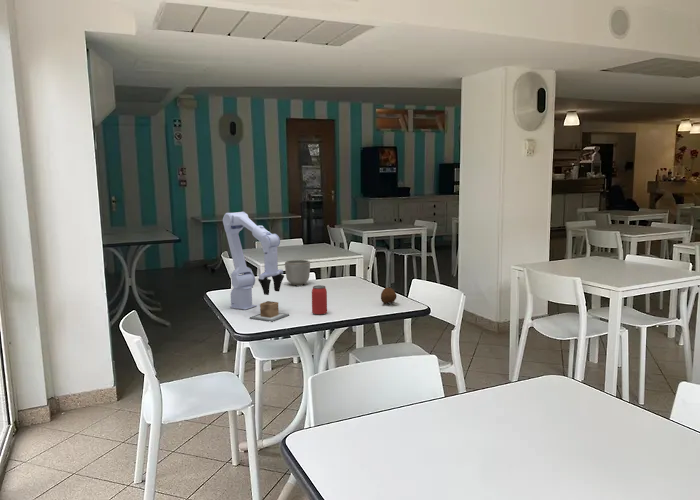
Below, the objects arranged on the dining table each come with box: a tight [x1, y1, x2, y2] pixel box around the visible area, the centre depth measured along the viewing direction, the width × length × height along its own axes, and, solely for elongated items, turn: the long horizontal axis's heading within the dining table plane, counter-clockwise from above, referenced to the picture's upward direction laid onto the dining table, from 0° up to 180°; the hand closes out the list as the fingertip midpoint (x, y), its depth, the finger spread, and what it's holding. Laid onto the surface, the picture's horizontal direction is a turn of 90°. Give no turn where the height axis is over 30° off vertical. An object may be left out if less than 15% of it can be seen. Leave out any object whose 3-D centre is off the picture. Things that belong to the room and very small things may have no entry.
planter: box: [284, 259, 311, 286], centre depth 304 cm, size 14×14×13 cm
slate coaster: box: [249, 312, 290, 323], centre depth 236 cm, size 12×12×1 cm
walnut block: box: [259, 300, 280, 318], centre depth 236 cm, size 6×6×6 cm
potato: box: [380, 287, 397, 305], centre depth 257 cm, size 7×10×8 cm
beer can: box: [311, 284, 328, 316], centre depth 241 cm, size 7×7×12 cm
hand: (271, 292), depth 240 cm, fingers open, 7 cm apart
